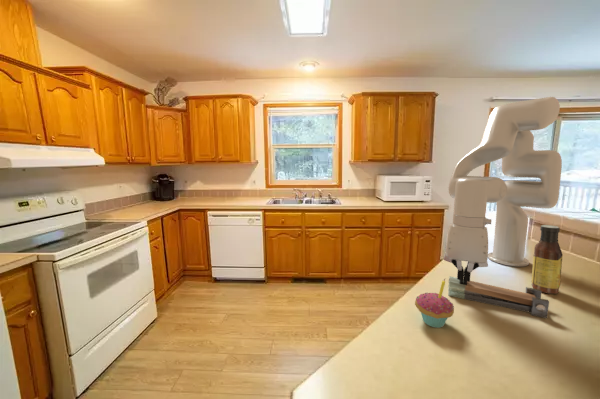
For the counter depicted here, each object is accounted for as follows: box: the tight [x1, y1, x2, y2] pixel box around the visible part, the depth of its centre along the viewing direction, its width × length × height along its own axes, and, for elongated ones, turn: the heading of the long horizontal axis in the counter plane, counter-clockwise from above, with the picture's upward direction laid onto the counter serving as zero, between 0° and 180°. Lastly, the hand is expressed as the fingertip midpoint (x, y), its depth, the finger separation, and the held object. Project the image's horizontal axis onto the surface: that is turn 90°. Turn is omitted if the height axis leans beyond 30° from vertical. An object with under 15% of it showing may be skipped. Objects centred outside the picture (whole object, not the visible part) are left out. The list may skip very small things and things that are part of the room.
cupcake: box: [414, 278, 455, 329], centre depth 63 cm, size 9×8×12 cm
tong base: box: [447, 285, 550, 319], centre depth 72 cm, size 8×22×4 cm, turn 60°
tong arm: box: [448, 275, 536, 306], centre depth 72 cm, size 4×20×2 cm, turn 60°
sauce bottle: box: [530, 224, 564, 295], centre depth 76 cm, size 6×6×20 cm
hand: (463, 282), depth 74 cm, fingers closed
